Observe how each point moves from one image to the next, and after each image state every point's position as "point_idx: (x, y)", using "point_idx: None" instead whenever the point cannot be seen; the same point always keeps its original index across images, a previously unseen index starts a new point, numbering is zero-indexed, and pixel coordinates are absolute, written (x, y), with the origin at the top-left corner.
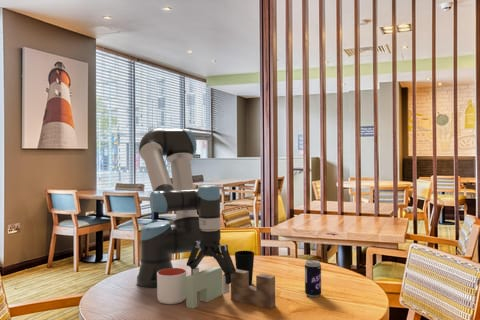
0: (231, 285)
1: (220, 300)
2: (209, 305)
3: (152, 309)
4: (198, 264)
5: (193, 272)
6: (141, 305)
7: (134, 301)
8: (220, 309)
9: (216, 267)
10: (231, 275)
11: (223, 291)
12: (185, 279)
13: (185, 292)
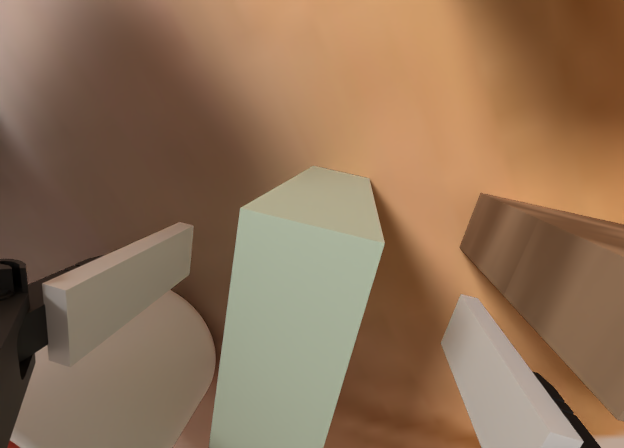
0: (511, 296)
1: (396, 277)
2: (366, 357)
3: None
4: (15, 322)
5: (93, 341)
6: None
7: None
8: (446, 392)
9: (299, 291)
10: (581, 368)
11: (450, 356)
12: (140, 440)
13: (196, 366)
